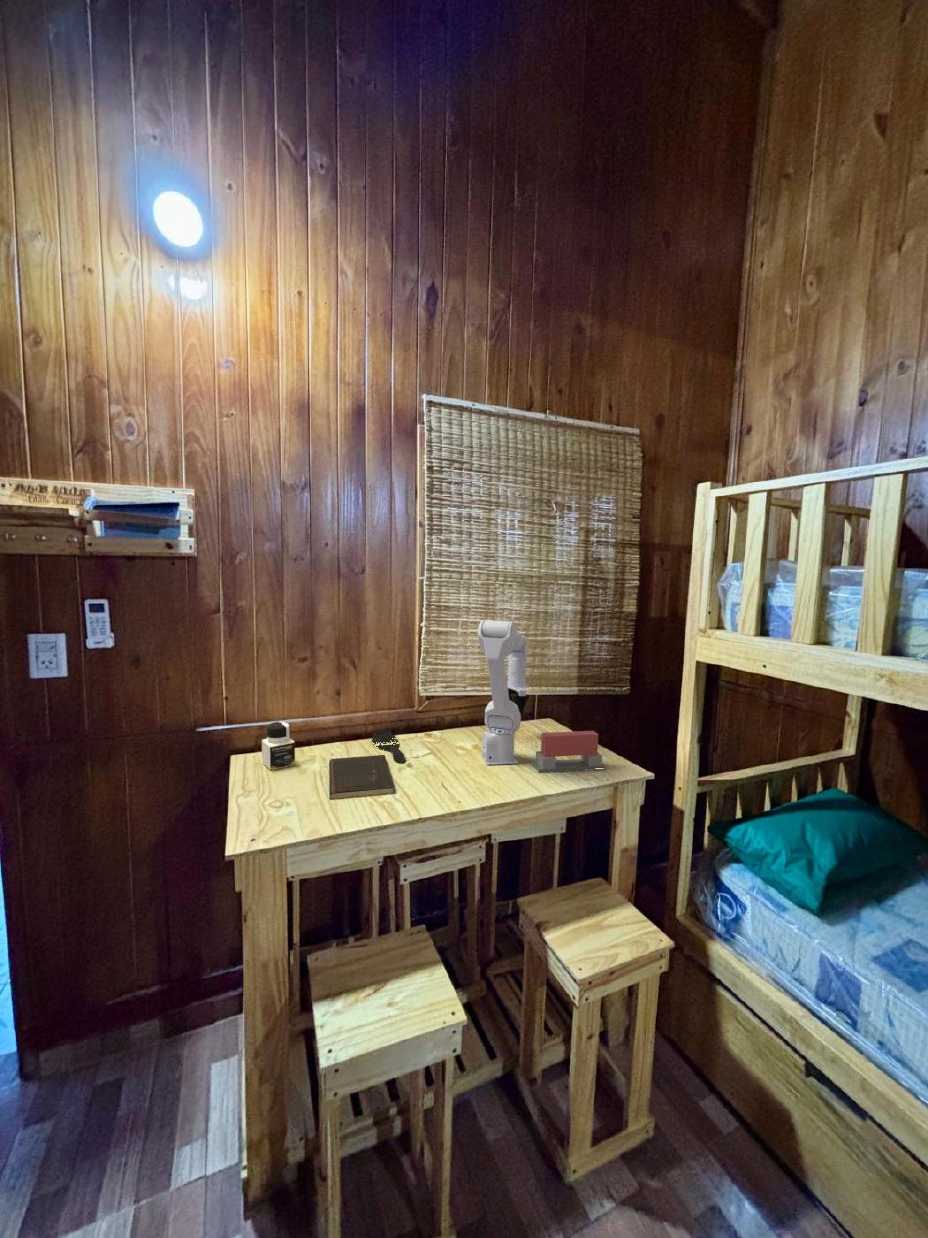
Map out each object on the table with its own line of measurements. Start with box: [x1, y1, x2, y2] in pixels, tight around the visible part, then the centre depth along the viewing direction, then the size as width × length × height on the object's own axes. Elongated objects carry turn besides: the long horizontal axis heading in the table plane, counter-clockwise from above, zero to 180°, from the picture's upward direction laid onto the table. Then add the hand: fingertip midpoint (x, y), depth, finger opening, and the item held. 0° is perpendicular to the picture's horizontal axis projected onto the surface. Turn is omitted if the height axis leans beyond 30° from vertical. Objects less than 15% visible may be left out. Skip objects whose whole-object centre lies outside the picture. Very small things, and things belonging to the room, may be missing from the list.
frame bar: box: [540, 730, 599, 758], centre depth 149 cm, size 16×4×6 cm, turn 100°
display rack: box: [531, 750, 606, 773], centre depth 149 cm, size 20×6×4 cm, turn 100°
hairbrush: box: [371, 727, 406, 765], centre depth 161 cm, size 8×4×25 cm
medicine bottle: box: [261, 721, 296, 771], centre depth 147 cm, size 7×7×12 cm
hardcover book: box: [328, 754, 395, 800], centre depth 139 cm, size 16×23×2 cm
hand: (515, 712), depth 168 cm, fingers open, 7 cm apart
